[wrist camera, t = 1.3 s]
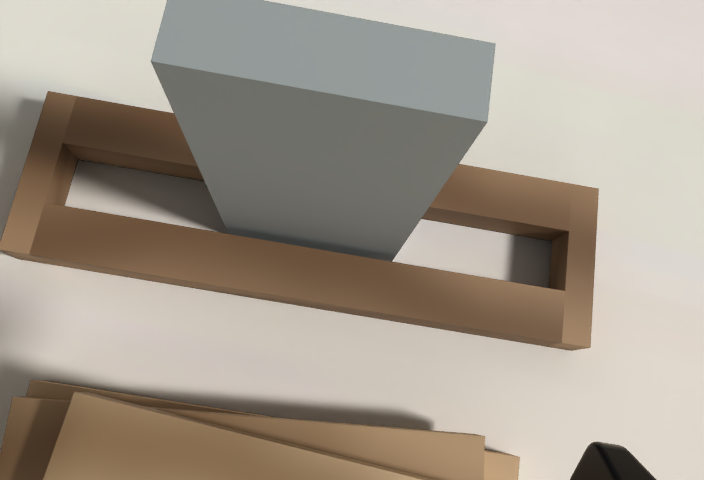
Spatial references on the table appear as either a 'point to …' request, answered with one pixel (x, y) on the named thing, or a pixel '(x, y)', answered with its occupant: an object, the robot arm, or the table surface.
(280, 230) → the tall grey pillar
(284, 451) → the frame
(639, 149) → the table surface
